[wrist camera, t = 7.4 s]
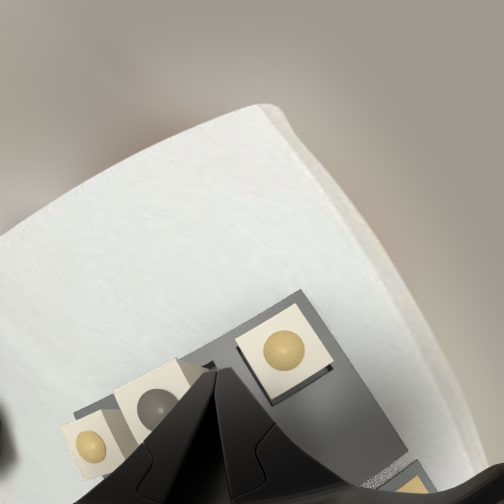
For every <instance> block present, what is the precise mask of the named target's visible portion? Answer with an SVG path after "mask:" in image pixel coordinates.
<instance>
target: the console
mask: <svg viewBox="0 0 504 504" xmlns="http://www.w3.org/2000/svg"><path fill="white" fill-rule="evenodd" d="M295 303H296V305H297V306H298V308H299V309H300V311H301V312H302V314H303V315H304V317H305V318H306V320H307V321H308V323H309V324H310V326H311V327H312V329H313V330H314V332H315V333H316V335H317V336H318V338H319V339H320V341H321V342H322V344H323V345H324V347H325V348H326V350H327V351H328V353H329V354H330V356H331V357H332V359H333V360H334V361H333V362H331V363H330V364H328V365H327V366H325V367H324V368H322V369H321V370H319V371H318V372H316V373H314V374H313V375H311V376H310V377H308V378H307V379H305V380H303V381H302V382H300V383H299V384H297V385H295V386H294V387H292V388H290V389H289V390H287V391H285V392H284V393H282V394H280V395H279V396H277V397H275V398H273V399H272V400H271V398H270V397H269V395H268V393H267V392H266V390H265V388H264V387H263V385H262V384H261V382H260V380H259V379H258V377H257V376H256V374H255V372H254V371H253V369H252V367H251V366H250V364H249V362H248V361H247V359H246V357H245V356H244V354H243V352H242V351H241V349H240V347H239V346H238V344H237V342H236V340H235V339H236V338H238V337H240V336H241V335H243V334H245V333H246V332H248V331H250V330H252V329H253V328H255V327H257V326H258V325H260V324H262V323H263V322H265V321H267V320H268V319H270V318H272V317H273V316H275V315H277V314H278V313H280V312H282V311H283V310H285V309H287V308H288V307H290V306H291V305H293V304H295ZM180 360H183V361H185V362H188V363H191V364H194V365H197V366H201V367H204V368H207V369H209V370H210V371H212V370H217V371H218V370H219V369H223V368H228V367H232V368H233V369H234V371H235V372H236V373H237V374H238V376H239V377H240V378H241V379H242V381H243V382H244V383H245V384H246V386H247V387H248V388H249V390H250V391H251V392H252V393H253V394H254V396H255V397H256V398H257V399H258V401H259V402H260V403H261V404H262V405H263V407H264V408H265V409H266V410H267V411H268V413H269V414H270V415H271V416H272V417H273V419H274V420H275V421H276V422H277V424H279V425H280V427H281V428H282V429H283V430H284V431H285V432H286V433H287V434H288V435H289V436H290V437H291V439H292V440H293V441H294V442H295V443H297V444H298V445H299V446H300V447H301V448H303V449H304V450H305V451H306V452H307V453H309V454H310V455H311V456H313V457H314V458H315V459H317V460H318V461H319V462H321V463H322V464H323V465H325V466H326V467H328V468H329V469H330V470H332V471H333V472H335V473H336V474H337V475H339V476H340V477H342V478H343V479H345V480H346V481H348V482H350V483H352V484H354V485H357V486H360V485H361V484H363V483H364V482H366V481H367V480H369V479H370V478H372V477H373V476H375V475H376V474H378V473H379V472H381V471H382V470H383V469H385V468H386V467H388V466H389V465H390V464H392V463H393V462H394V461H396V460H397V459H398V458H400V457H401V456H402V455H404V454H405V453H406V452H408V449H407V448H406V446H405V445H404V443H403V441H402V440H401V438H400V437H399V435H398V434H397V432H396V431H395V429H394V428H393V426H392V424H391V423H390V421H389V420H388V418H387V417H386V415H385V414H384V412H383V411H382V409H381V408H380V406H379V405H378V403H377V401H376V400H375V398H374V397H373V395H372V394H371V392H370V391H369V389H368V388H367V386H366V385H365V383H364V382H363V380H362V379H361V377H360V376H359V374H358V373H357V371H356V370H355V368H354V367H353V365H352V364H351V362H350V361H349V359H348V358H347V356H346V355H345V353H344V352H343V350H342V349H341V347H340V346H339V344H338V343H337V341H336V340H335V338H334V337H333V336H332V334H331V333H330V331H329V330H328V328H327V327H326V325H325V324H324V322H323V321H322V319H321V318H320V316H319V315H318V313H317V312H316V311H315V309H314V308H313V306H312V305H311V303H310V302H309V300H308V299H307V297H306V296H305V294H304V293H303V292H302V290H301V289H300V290H298V291H296V292H295V293H293V294H292V295H290V296H288V297H287V298H285V299H283V300H282V301H280V302H278V303H277V304H275V305H274V306H272V307H270V308H269V309H267V310H265V311H264V312H262V313H260V314H258V315H257V316H255V317H253V318H252V319H250V320H248V321H247V322H245V323H243V324H241V325H240V326H238V327H236V328H235V329H233V330H231V331H229V332H228V333H226V334H224V335H222V336H221V337H219V338H217V339H215V340H214V341H212V342H210V343H208V344H206V345H205V346H203V347H201V348H199V349H197V350H196V351H194V352H192V353H190V354H188V355H186V356H185V357H183V358H181V359H180ZM100 409H120V407H119V405H118V402H117V400H116V398H115V396H114V394H111V395H109V396H107V397H105V398H103V399H101V400H99V401H97V402H95V403H93V404H91V405H89V406H87V407H85V408H82V409H80V410H78V411H76V412H74V413H73V414H74V416H75V419H76V420H78V419H81V418H83V417H85V416H87V415H89V414H92V413H94V412H96V411H98V410H100ZM111 473H112V472H111ZM111 473H108V474H105V475H102V476H103V478H104V479H105V478H106V477H107V476H108V475H109V474H111Z"/></svg>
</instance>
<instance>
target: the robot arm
mask: <svg viewBox="0 0 504 504" xmlns="http://www.w3.org/2000/svg"><path fill="white" fill-rule="evenodd" d="M73 504H504V463H500V464H496V465H493V466H491V467H489V468H487V469H485V470H484V471H482V472H480V473H479V474H477V475H476V476H474V477H472V478H471V479H469V480H468V481H466V482H464V483H462V484H460V485H458V486H456V487H454V488H451V489H448V490H445V491H441V492H436V493H407V492H395V491H385V490H376V489H369V488H363V487H359V486H357V485H354V484H352V483H350V482H348V481H346V480H345V479H343V478H342V477H340V476H339V475H337V474H336V473H335V472H333V471H332V470H330V469H329V468H328V467H326V466H325V465H323V464H322V463H321V462H319V461H318V460H317V459H315V458H314V457H313V456H311V455H310V454H309V453H307V452H306V451H305V450H304V449H303V448H301V447H300V446H299V445H298V444H297V443H295V442H294V441H293V440H292V439H291V437H290V436H289V435H288V434H287V433H286V432H285V431H284V430H283V429H282V428H281V427H280V425H279V424H277V422H276V421H275V420H274V419H273V417H272V416H271V415H270V414H269V413H268V411H267V410H266V409H265V408H264V407H263V405H262V404H261V403H260V402H259V401H258V399H257V398H256V397H255V396H254V394H253V393H252V392H251V391H250V390H249V388H248V387H247V386H246V384H245V383H244V382H243V381H242V379H241V378H240V377H239V376H238V374H237V373H236V372H235V371H234V369H233V368H232V367H228V368H223V369H219V370H218V371H217V370H212V371H207V372H203V373H202V374H201V375H200V377H199V378H198V379H197V380H196V381H195V382H194V384H193V385H192V386H191V387H190V388H189V389H188V391H187V392H186V393H185V394H184V395H183V396H182V398H181V399H180V400H179V401H178V402H177V403H176V405H175V406H174V407H173V408H172V409H171V410H170V411H169V413H168V414H167V415H166V416H165V417H164V418H163V419H162V420H161V422H160V423H159V424H158V425H157V426H156V427H155V428H154V429H153V431H152V432H151V433H150V434H149V435H148V436H147V437H146V438H145V439H144V441H143V443H141V444H140V445H139V446H138V447H137V448H136V449H135V450H134V451H133V452H132V453H131V455H130V456H129V457H128V458H127V459H126V460H125V461H124V462H123V463H122V464H121V465H119V466H118V467H117V468H116V469H115V470H114V471H113V472H112V473H111V474H109V475H108V476H107V477H106V478H105V479H104V480H102V481H101V482H100V483H99V484H98V485H96V486H95V487H94V488H93V489H92V490H90V491H89V492H88V493H87V494H86V495H84V496H83V497H82V498H81V499H79V500H78V501H76V502H75V503H73Z"/></svg>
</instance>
